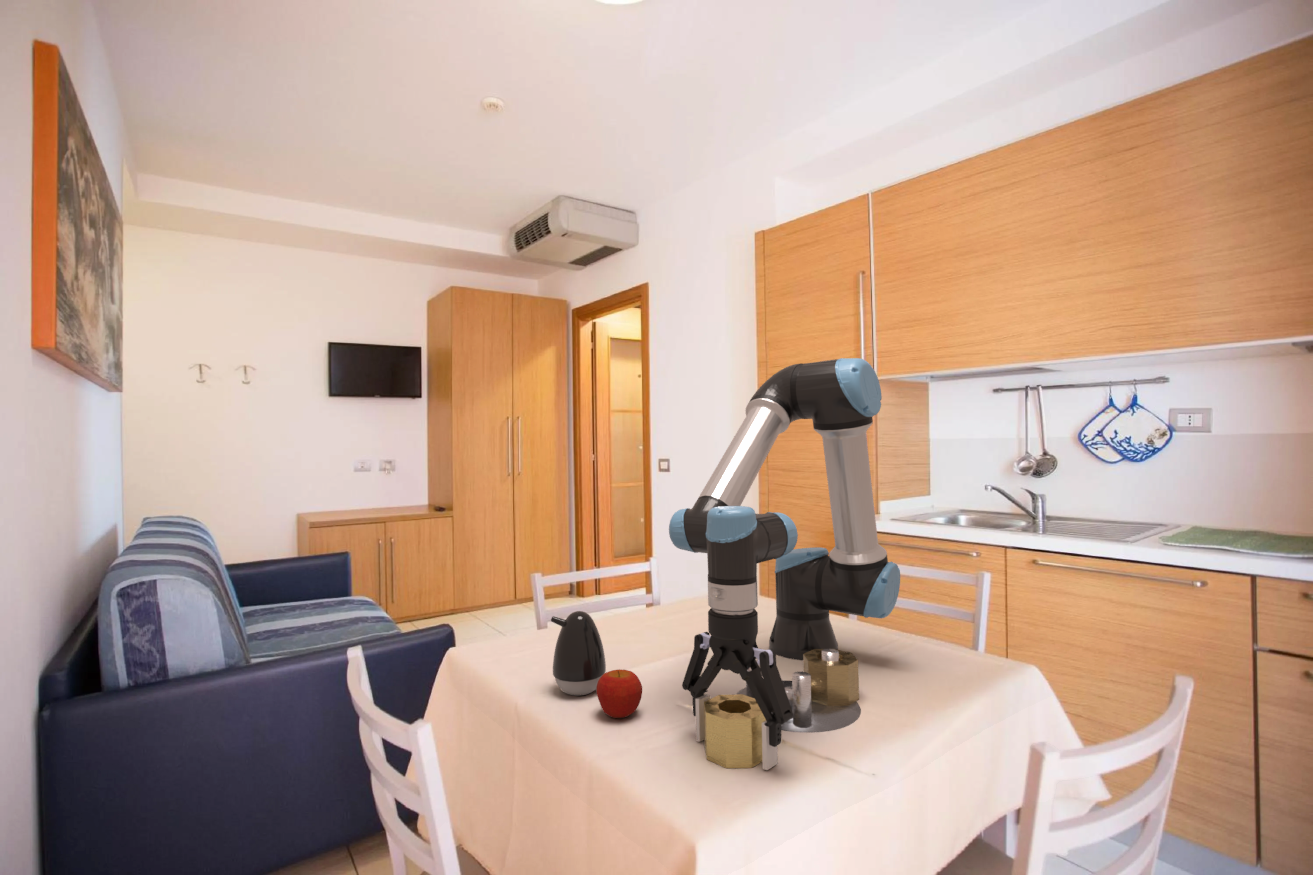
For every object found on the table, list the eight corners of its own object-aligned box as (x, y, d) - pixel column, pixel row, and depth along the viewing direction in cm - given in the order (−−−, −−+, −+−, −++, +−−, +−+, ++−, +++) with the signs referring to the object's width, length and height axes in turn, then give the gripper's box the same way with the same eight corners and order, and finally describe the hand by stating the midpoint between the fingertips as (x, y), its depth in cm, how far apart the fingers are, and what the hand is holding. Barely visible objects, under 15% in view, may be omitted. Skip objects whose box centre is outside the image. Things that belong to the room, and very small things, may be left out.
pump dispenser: (554, 681, 124) (553, 605, 124) (606, 679, 125) (604, 603, 125) (549, 702, 114) (548, 619, 114) (606, 699, 115) (604, 617, 115)
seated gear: (796, 695, 113) (795, 657, 113) (821, 682, 119) (820, 645, 119) (841, 710, 106) (840, 669, 107) (865, 694, 113) (865, 656, 113)
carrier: (707, 709, 109) (707, 659, 110) (778, 675, 125) (777, 632, 125) (818, 751, 94) (817, 692, 94) (883, 706, 109) (882, 656, 110)
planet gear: (693, 753, 94) (692, 706, 94) (730, 733, 100) (729, 689, 100) (741, 774, 87) (740, 724, 88) (777, 751, 94) (776, 705, 94)
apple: (637, 726, 103) (636, 679, 104) (591, 723, 105) (591, 676, 105) (645, 707, 111) (645, 663, 111) (603, 704, 112) (602, 661, 113)
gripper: (658, 600, 100) (661, 734, 100) (787, 629, 83) (790, 791, 83) (689, 592, 105) (691, 719, 105) (816, 617, 88) (819, 770, 88)
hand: (735, 751), depth 94 cm, fingers open, 12 cm apart
